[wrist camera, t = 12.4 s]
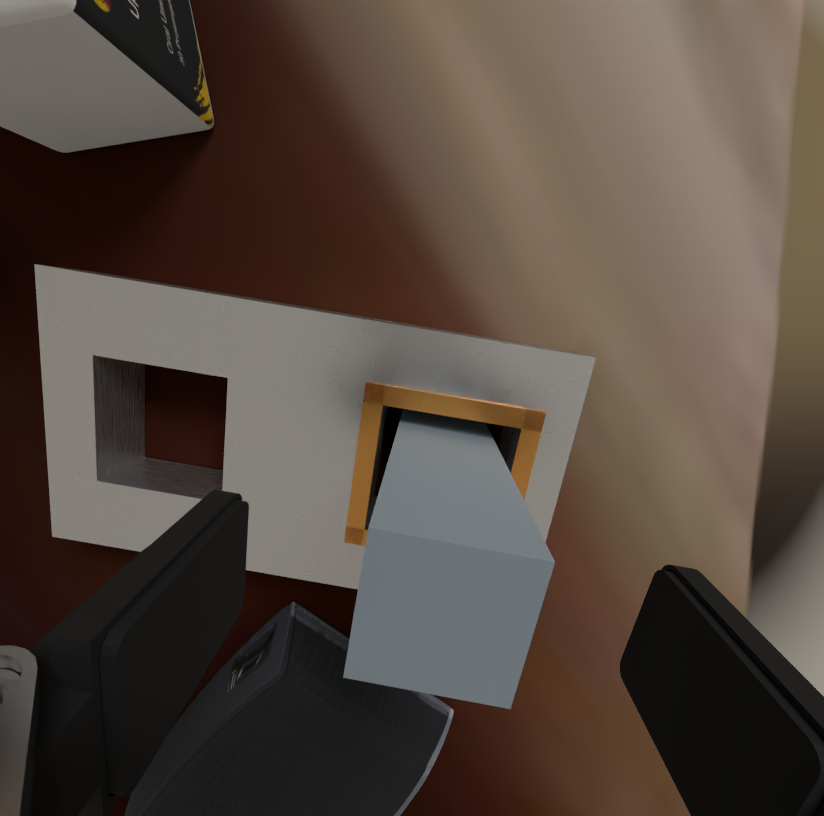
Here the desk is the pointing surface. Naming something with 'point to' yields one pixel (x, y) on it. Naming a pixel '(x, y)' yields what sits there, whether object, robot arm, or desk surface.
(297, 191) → the desk surface
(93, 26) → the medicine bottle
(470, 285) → the desk surface
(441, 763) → the desk surface
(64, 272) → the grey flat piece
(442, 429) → the peg
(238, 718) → the external hard drive
